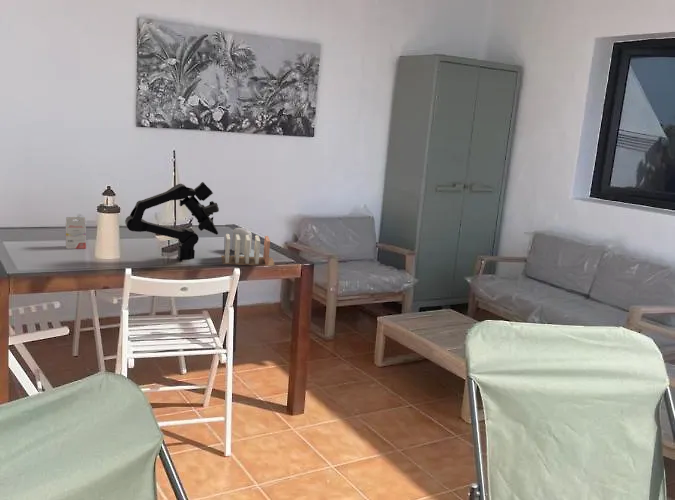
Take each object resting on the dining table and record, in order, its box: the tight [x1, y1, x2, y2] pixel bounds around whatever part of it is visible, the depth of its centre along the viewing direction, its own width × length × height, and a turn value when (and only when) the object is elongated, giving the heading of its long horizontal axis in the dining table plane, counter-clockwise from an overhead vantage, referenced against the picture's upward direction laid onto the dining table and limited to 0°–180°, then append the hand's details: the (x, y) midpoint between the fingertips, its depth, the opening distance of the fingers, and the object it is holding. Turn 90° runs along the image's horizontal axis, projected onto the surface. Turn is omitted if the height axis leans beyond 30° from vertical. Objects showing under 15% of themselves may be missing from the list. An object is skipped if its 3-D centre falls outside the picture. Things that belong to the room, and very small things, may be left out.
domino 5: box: [262, 235, 271, 264], centre depth 319 cm, size 2×10×11 cm, turn 12°
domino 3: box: [243, 235, 251, 264], centre depth 318 cm, size 2×10×11 cm, turn 12°
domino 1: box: [224, 233, 231, 263], centre depth 316 cm, size 2×10×11 cm, turn 12°
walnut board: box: [221, 255, 276, 267], centre depth 319 cm, size 24×14×1 cm, turn 102°
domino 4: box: [253, 235, 261, 264], centre depth 318 cm, size 2×10×11 cm, turn 11°
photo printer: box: [231, 227, 253, 255], centre depth 332 cm, size 10×4×12 cm, turn 56°
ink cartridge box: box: [65, 216, 87, 250], centre depth 313 cm, size 9×5×15 cm, turn 112°
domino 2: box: [233, 234, 241, 263], centre depth 317 cm, size 2×10×11 cm, turn 12°
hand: (217, 234), depth 313 cm, fingers closed
